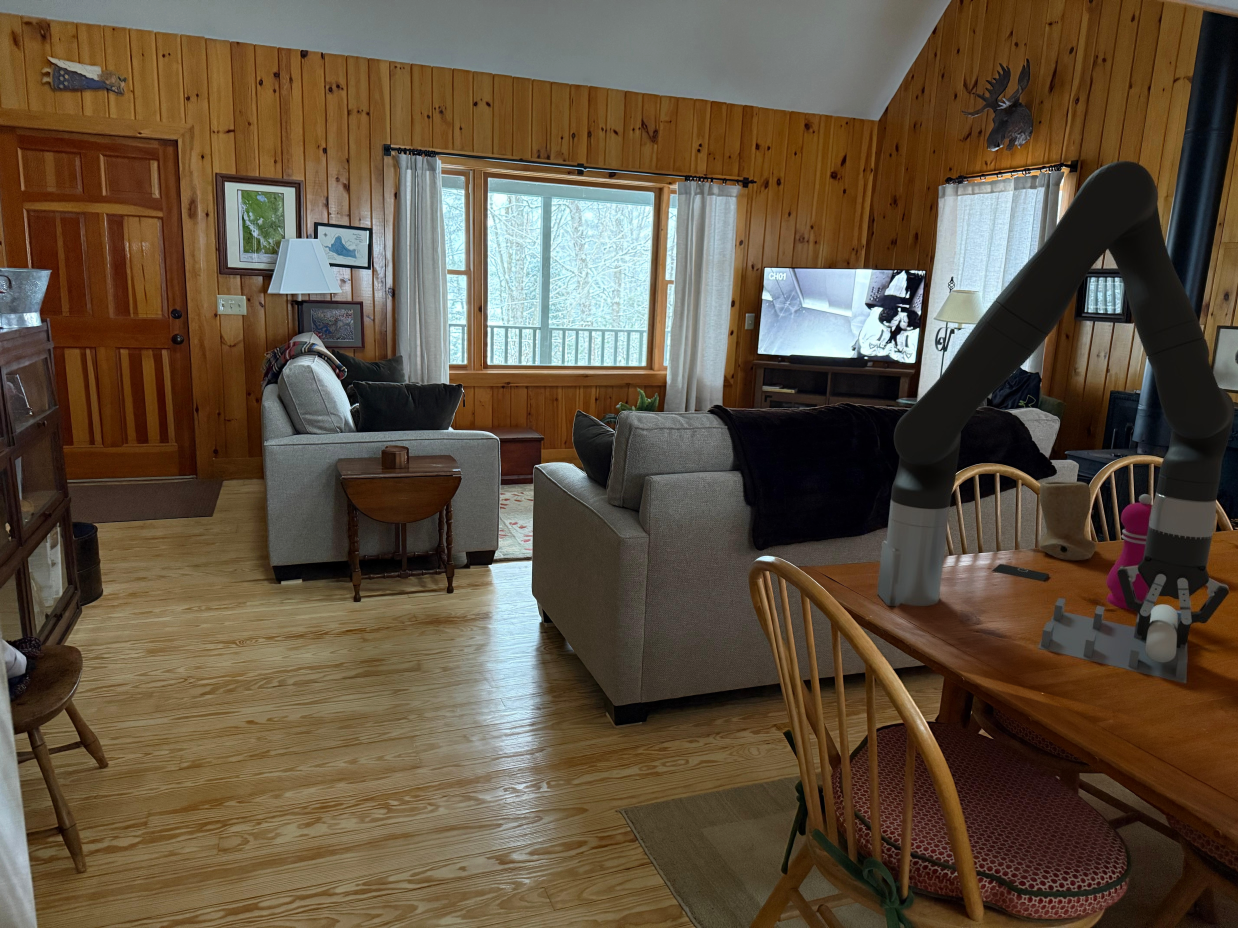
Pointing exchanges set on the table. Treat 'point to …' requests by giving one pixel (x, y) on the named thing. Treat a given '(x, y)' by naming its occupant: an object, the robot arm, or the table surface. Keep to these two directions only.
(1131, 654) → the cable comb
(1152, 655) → the white rounded capsule
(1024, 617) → the table surface
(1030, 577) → the cell phone
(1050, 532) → the sheepskin slipper boot
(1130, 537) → the pepper mill
